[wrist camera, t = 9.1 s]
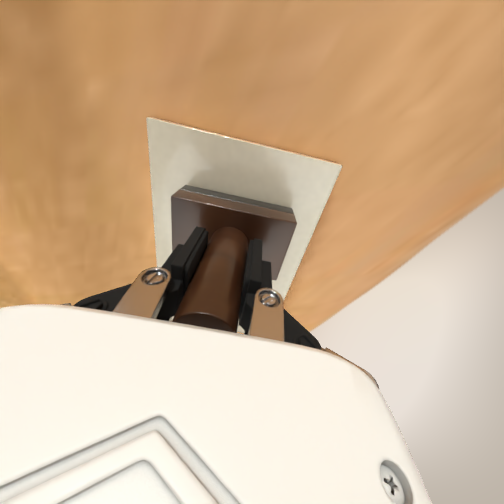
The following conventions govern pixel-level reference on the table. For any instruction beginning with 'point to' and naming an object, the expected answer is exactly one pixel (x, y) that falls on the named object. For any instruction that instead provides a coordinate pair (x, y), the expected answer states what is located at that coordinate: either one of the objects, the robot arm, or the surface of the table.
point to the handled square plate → (225, 250)
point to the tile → (236, 182)
